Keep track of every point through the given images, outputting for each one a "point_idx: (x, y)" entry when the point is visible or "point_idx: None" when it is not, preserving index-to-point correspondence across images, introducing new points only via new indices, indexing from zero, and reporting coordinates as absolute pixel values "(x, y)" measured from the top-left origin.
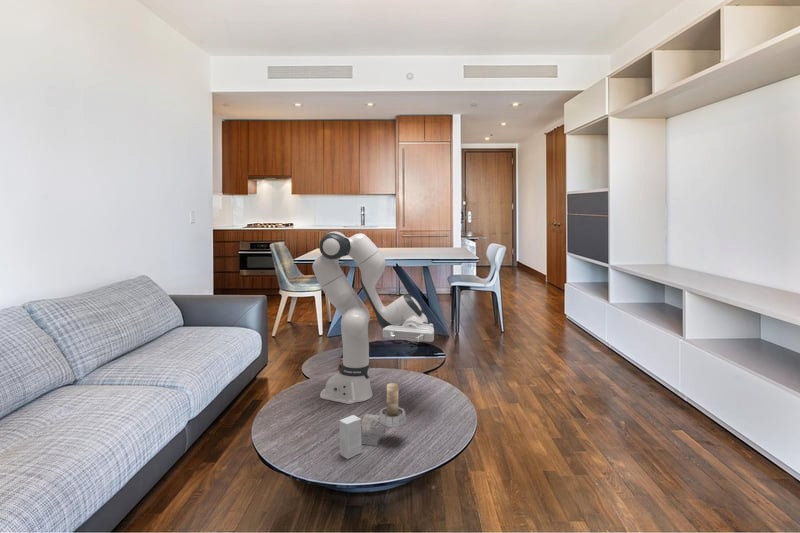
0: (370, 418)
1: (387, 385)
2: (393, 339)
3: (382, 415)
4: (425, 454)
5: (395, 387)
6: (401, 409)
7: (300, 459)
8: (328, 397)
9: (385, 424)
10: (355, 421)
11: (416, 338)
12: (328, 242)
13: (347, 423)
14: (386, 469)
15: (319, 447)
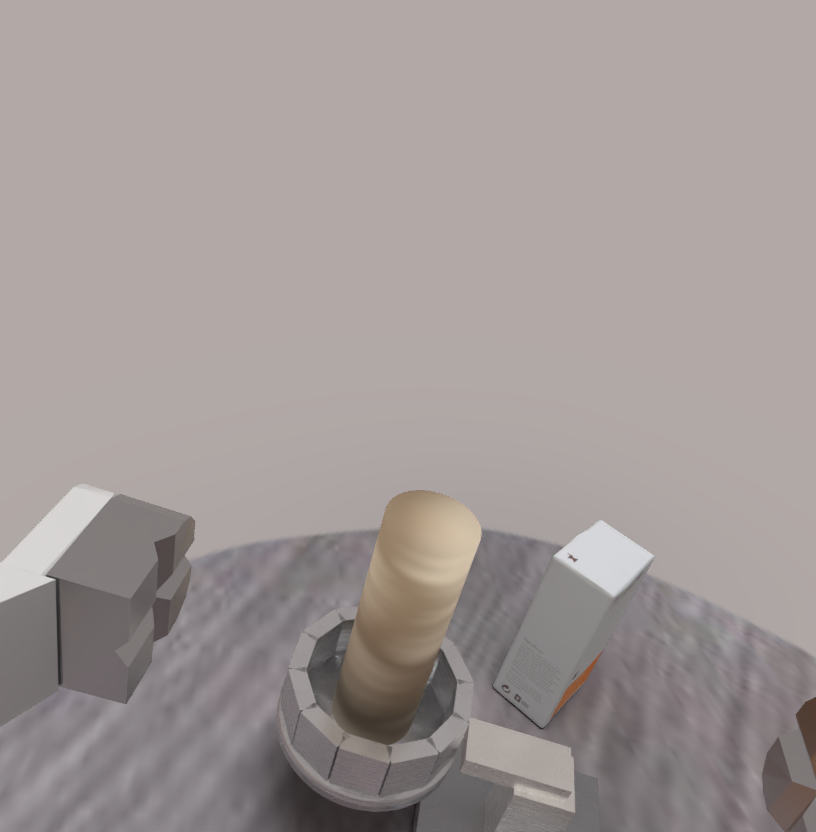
0: (521, 737)
1: (474, 522)
2: (780, 767)
3: (444, 638)
4: (163, 649)
5: (406, 493)
6: (315, 704)
7: (725, 664)
8: None
9: None
10: (571, 541)
11: (146, 509)
12: None
13: (600, 523)
14: (361, 569)
15: (709, 752)
